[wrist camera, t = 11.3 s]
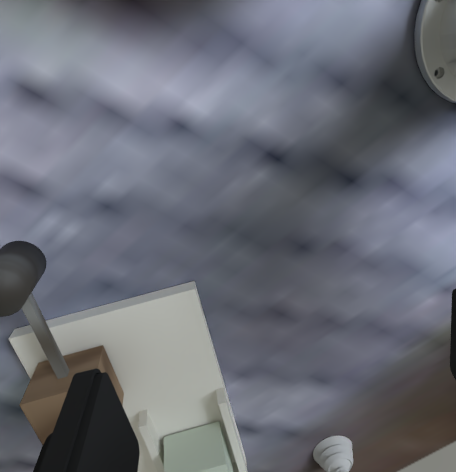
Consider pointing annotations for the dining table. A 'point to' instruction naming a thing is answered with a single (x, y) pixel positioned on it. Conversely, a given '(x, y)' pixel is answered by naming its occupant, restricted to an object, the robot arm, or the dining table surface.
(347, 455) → the chalice
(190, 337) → the white joystick tray
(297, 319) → the dining table surface
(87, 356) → the joystick
